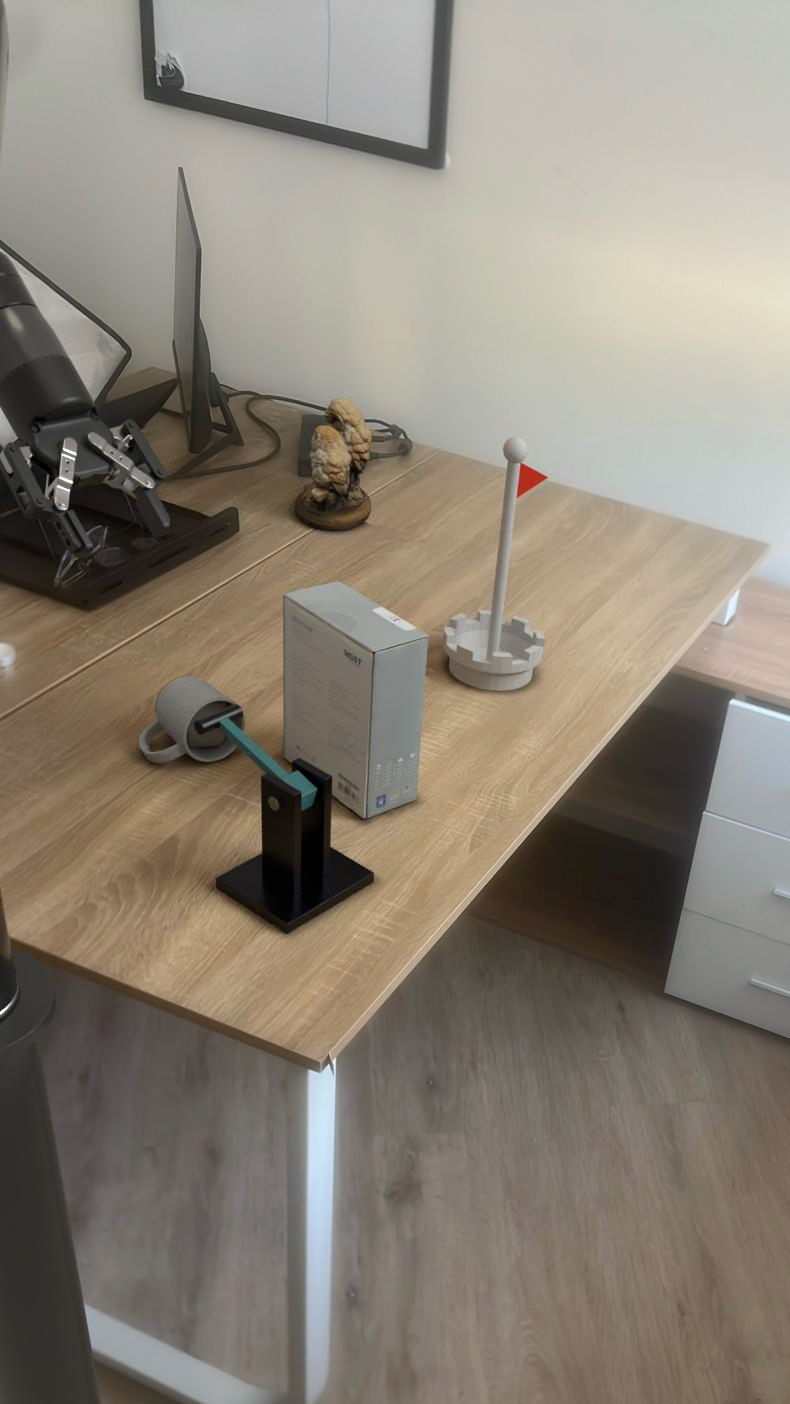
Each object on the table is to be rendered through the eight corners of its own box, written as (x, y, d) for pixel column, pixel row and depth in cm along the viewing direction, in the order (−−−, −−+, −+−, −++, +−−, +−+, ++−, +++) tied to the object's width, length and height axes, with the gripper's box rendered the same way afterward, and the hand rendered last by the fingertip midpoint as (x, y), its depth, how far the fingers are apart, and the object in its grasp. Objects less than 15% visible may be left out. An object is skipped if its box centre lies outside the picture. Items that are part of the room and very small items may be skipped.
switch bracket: (215, 887, 125) (210, 777, 117) (303, 839, 133) (304, 733, 125) (287, 933, 121) (287, 823, 113) (373, 882, 129) (379, 774, 121)
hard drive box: (419, 801, 142) (432, 636, 129) (364, 822, 137) (372, 653, 124) (334, 739, 149) (339, 577, 136) (279, 757, 145) (279, 592, 132)
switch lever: (191, 732, 122) (195, 714, 120) (231, 715, 125) (235, 697, 123) (284, 820, 119) (290, 802, 117) (322, 800, 122) (328, 783, 121)
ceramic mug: (209, 720, 149) (205, 660, 144) (247, 752, 144) (244, 692, 139) (126, 745, 143) (119, 684, 138) (162, 779, 139) (157, 717, 134)
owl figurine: (304, 484, 208) (305, 374, 197) (376, 493, 209) (381, 385, 198) (287, 526, 194) (287, 411, 183) (364, 536, 195) (369, 422, 184)
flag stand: (473, 701, 160) (499, 461, 141) (423, 655, 168) (440, 422, 149) (558, 684, 167) (594, 453, 147) (506, 641, 174) (533, 415, 155)
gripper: (-27, 363, 105) (76, 543, 108) (114, 342, 115) (205, 507, 118) (-55, 411, 111) (44, 581, 114) (82, 387, 120) (170, 544, 123)
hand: (126, 543), depth 116 cm, fingers open, 8 cm apart
